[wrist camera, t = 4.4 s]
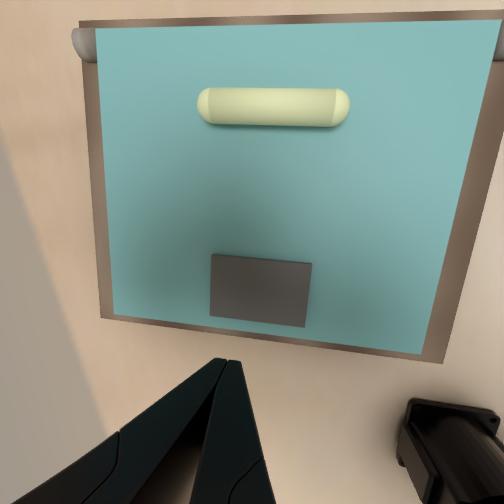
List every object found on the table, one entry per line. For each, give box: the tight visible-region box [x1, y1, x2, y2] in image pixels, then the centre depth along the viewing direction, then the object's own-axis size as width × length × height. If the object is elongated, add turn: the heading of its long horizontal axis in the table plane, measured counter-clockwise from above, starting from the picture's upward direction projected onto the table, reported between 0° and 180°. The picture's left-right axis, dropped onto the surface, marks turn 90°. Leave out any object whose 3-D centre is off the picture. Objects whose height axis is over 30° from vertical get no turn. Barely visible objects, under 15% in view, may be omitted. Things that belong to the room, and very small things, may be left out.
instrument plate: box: [95, 20, 502, 355], centre depth 14 cm, size 20×17×3 cm
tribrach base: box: [72, 10, 504, 364], centre depth 17 cm, size 25×20×4 cm
